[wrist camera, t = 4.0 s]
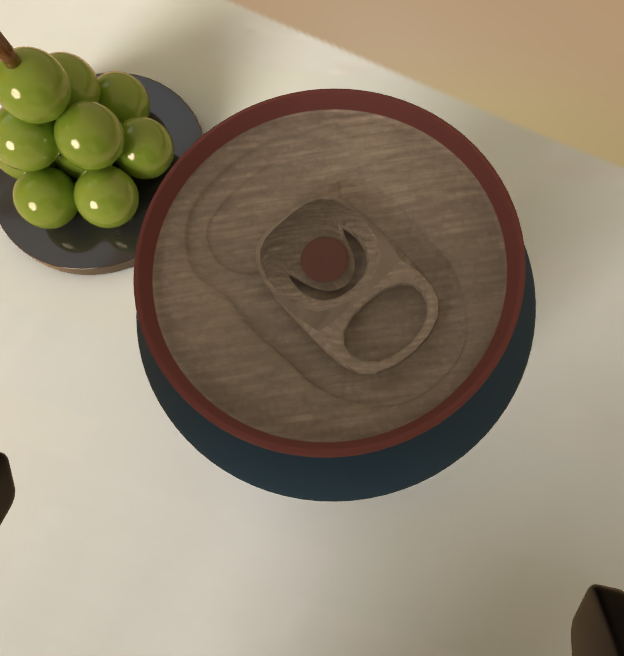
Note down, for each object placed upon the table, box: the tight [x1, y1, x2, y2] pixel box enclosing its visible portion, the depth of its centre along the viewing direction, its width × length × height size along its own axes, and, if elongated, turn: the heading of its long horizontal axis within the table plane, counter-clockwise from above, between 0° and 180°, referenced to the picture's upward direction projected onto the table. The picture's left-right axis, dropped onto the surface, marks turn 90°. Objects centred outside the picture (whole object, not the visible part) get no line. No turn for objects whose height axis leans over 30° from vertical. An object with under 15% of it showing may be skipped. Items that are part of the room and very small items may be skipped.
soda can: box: [134, 89, 536, 501], centre depth 14 cm, size 7×7×12 cm
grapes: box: [0, 32, 204, 275], centre depth 20 cm, size 8×8×8 cm
